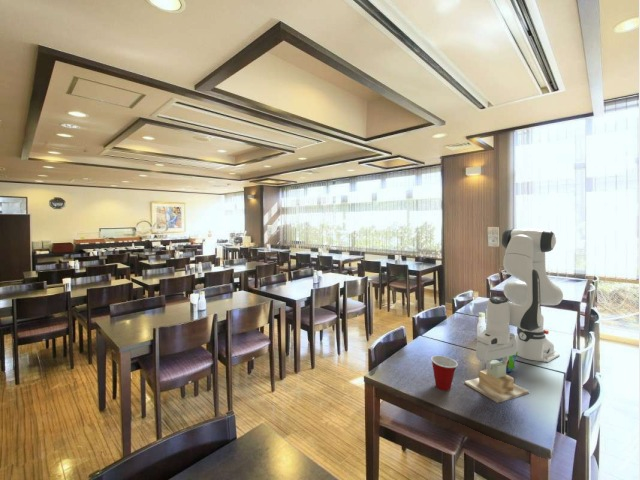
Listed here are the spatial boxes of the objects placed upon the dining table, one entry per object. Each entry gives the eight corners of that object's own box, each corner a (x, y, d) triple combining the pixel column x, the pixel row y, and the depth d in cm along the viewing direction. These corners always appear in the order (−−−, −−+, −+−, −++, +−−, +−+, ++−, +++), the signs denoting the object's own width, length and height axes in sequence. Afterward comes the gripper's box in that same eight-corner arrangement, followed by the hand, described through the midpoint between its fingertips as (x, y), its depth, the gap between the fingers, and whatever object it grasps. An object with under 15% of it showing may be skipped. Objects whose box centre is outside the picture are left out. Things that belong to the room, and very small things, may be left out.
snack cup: (487, 360, 160) (487, 341, 160) (510, 363, 158) (511, 343, 157) (496, 375, 145) (497, 354, 144) (522, 378, 142) (522, 356, 142)
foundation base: (494, 375, 145) (494, 363, 144) (528, 393, 130) (529, 379, 130) (464, 383, 138) (465, 370, 138) (497, 402, 123) (497, 388, 123)
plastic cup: (460, 395, 129) (461, 366, 128) (432, 393, 131) (433, 364, 130) (453, 382, 139) (454, 355, 139) (428, 380, 141) (428, 353, 140)
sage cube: (495, 370, 137) (495, 359, 137) (505, 376, 132) (506, 364, 132) (486, 372, 135) (487, 361, 135) (497, 378, 130) (497, 366, 130)
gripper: (507, 330, 139) (506, 360, 140) (473, 336, 132) (472, 368, 133) (521, 334, 134) (520, 366, 134) (486, 341, 126) (485, 375, 127)
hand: (496, 367), depth 133 cm, fingers open, 7 cm apart
